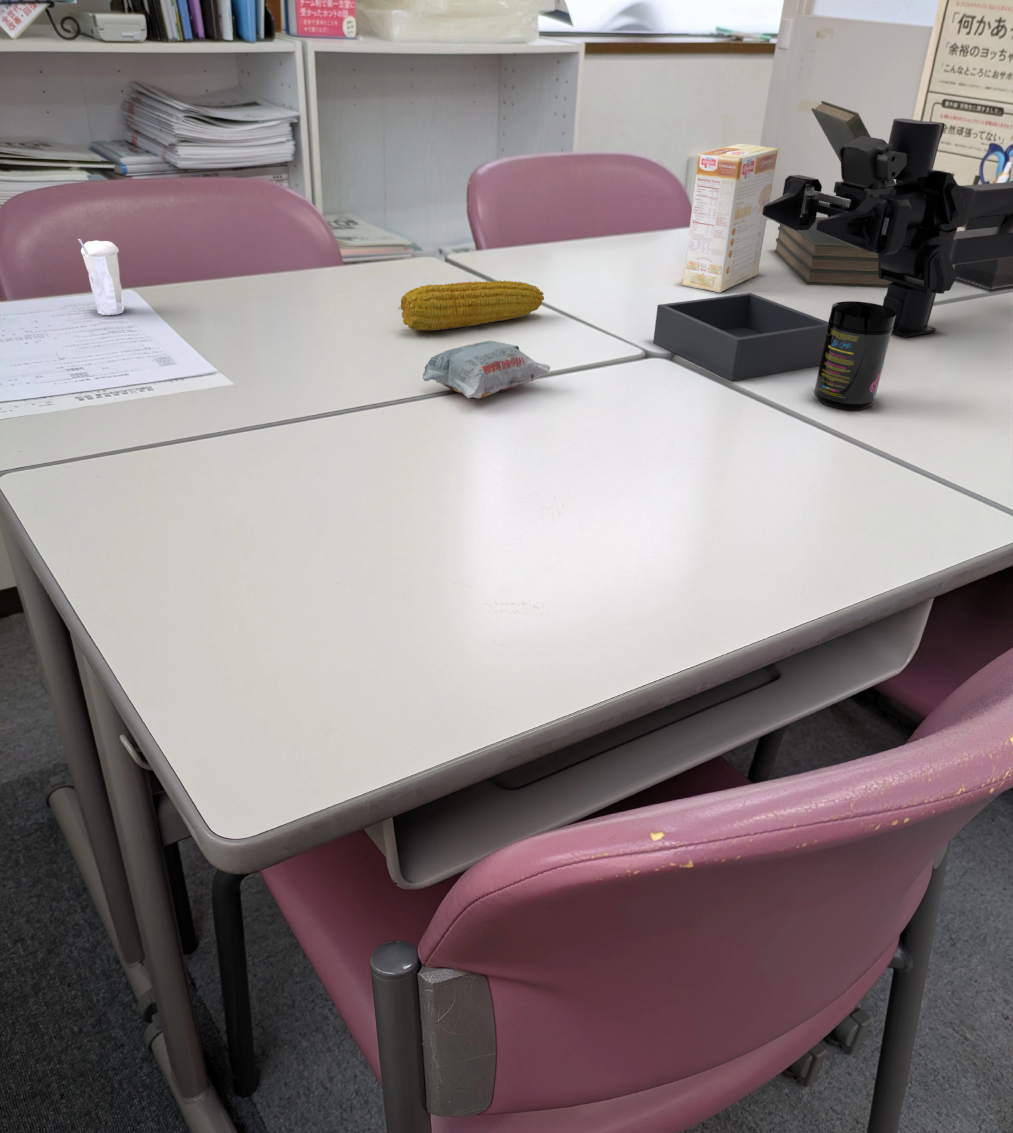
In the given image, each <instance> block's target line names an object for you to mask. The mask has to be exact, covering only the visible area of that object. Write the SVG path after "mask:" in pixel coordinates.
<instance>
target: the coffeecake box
mask: <svg viewBox="0 0 1013 1133" xmlns="http://www.w3.org/2000/svg"><path fill="white" fill-rule="evenodd" d="M778 153H779V148H778V147H769V146H763V145H758V144H757V145H756V144H752V143H751V144H750V143H737V144H732V145H729V146H724V147H720V148H715V149H711V150H707V151H702V152H699V153H697V165H696V173H695V181H694V188H693V196H692V206H691V212H690V213H691V214H690V221H689V229H688V238H687V245H686V253H685V260H684V269H683V277H682V283H681V284H682V286H685V287H689V288H694V289H699V290H700V289H701V290H706V291H710V292H715V293H723V292H725V291H726V290H728V289H730V288H732V287H734V286H737V285H739V284H741V283H743V282H745V281H747V280H750V279H752V278H753V277H756V276H758V275H759V268H760V263H761V262H760V260H761V255H762V251H763V250H762V249H763V245H764V238H765V233H766V226H767V219H768V218H767V217H765V216H763V215H762V213H763V207H764V206H765V205H767V204H768V203H770V202H771V194H772V189H773V182H774V177H775V176H774V175H775V170H776V165H777V159H778Z"/></svg>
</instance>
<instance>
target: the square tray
mask: <svg viewBox="0 0 1013 1133" xmlns="http://www.w3.org/2000/svg"><path fill="white" fill-rule="evenodd" d="M655 316H656V317H655V325H654V333H653V340H652V342H653V344H655V345H656V346H659V347H661V348H663V349H664V350H667V351H670V352H671V353H673V354H675V355H677V356H679V357H682V358H684V359H686V360H687V361H689V362H691V363H694V364H695V365H697V366H700V367H701V368H703V369H705V370H708V371H710V372H712V373H714V374H716V375H718V376H720V377H722V378H724V379H725V380H728V381H730V382H734V381H739V380H745V379H750V378H756V377H762V376H768V375H774V374H780V373H784V372H789V371H795V370H801V369H808V368H812V367H817V366H820V362H821V357H822V352H823V348H824V343H825V338H826V333H827V329H828V324H829V321H827V320H824V319H821V318H819V317H816V316H813V315H811V314H809V313H805V312H802V311H800V310H797V309H794V308H792V307H789V306H787V305H784V304H782V303H778V302H776V301H773V300H770V299H769V298H766V297H763V296H760V295H758V294H755V293H753V292H747V293H739V294H731V295H722V296H716V297H709V298H708V297H707V298H701V299H699V298H698V299H691V300H685V301H678V302H671V303H662V304H657V308H656V315H655Z"/></svg>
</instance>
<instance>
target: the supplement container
mask: <svg viewBox="0 0 1013 1133" xmlns="http://www.w3.org/2000/svg"><path fill="white" fill-rule="evenodd" d="M895 318H896V312H895V311H894V310H892V309H890V308H888V307H885V306H883V304H878V303H873V302H867V301H854V300H853V301H851V300H847V301H846V300H845V301H838V302H835V303H833V304H832V305H831V308H830V314H829V318H828V322H829V324H828V329H827V333H826V338H825V343H824V348H823V352H822V357H821V362H820V365H818V366H819V367H818V371H817V376H816V381H815V386H814V390H813V391H814V392H813V393H814V396H815V398H816V400H817V401H819V403H821V404H823V405H825V406H828V407H831V408H834V409H839V410H844V411H845V410H846V411H859V410H864V409H867V408H869V407H870V406H872V405H873V403H874V402H875V401H876V396H877V393H878V392H877V391H878V388H879V384H880V380H881V375H882V372H883V368H884V365H885V364H884V363H885V360H886V357H887V352H888V348H889V344H890V340H891V336H892V330H893V326H894V322H895Z"/></svg>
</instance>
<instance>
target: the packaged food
mask: <svg viewBox="0 0 1013 1133" xmlns="http://www.w3.org/2000/svg"><path fill="white" fill-rule="evenodd" d="M550 370H551V366H550V365H549V364H546V363H541V362H537V361H535V360H534V359H532V358H531V357H529V356H528V355H527V354H526V353H524V352H522V351H521V350H520V347H519V345H515V344H510V343H505V342H500V341H495V340H485V341H480V342H475V343H472V344H467V345H463V346H462V345H461V346H458V347H455V348H454V347H453V348H450V349H447V350H445V351H443V352H441V353H437V354H435V355H433V356H432V357H431V358H430V359H429V360H428V362H427V364H426V365H425V366H424V372H423V373H422V379H423V381H424V382H429V381H430V380H432V381H435V382H436V383H437V384H439V385H440V384H441V385H442V386H444V387H446V388H448V389H450V390H452V391H454V392H457V393H459V394H462V395H464V396H465V397H466V398H467V399H470V398H474V399H478V400H479V399H482V398H485V397H488V396H491V395H493V394H497V393H502V392H505V391H508V390H511V389H513V388H517V387H519V386H522V385H525V384H528V383H531V382H533V381H535V380H536V379H537V378H539V377H542V376H543V375H546V374H548V373H549V372H550Z"/></svg>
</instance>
